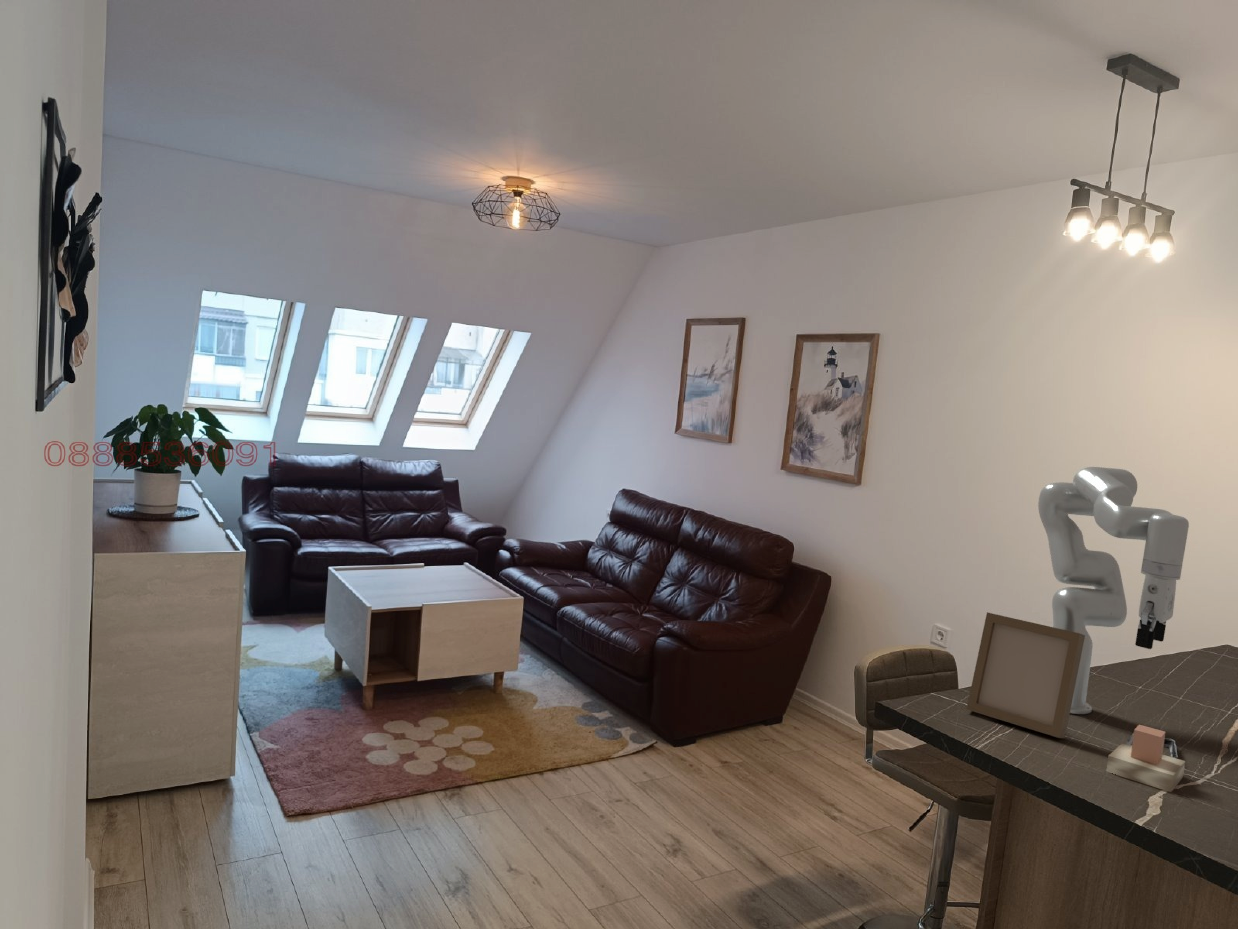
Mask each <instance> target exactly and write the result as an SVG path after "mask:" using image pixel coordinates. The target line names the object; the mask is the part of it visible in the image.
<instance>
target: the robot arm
mask: <svg viewBox="0 0 1238 929" xmlns="http://www.w3.org/2000/svg"><path fill="white" fill-rule="evenodd" d="M1137 491H1138V481H1137V478H1136V476H1134V474H1133V473H1132V472H1130V471H1129V470H1126V469H1123V468H1111V467H1102V466H1101V467H1100V466H1089V467H1088V466H1087V467H1084V468H1082V469H1080V470H1078V471H1077V472H1076V473H1075V474H1074V476H1073V481H1072V482H1063V481H1062V482H1052V483H1049V484H1047V485H1045V486H1044V487H1043V488H1042V489H1041V491H1040V493H1039V497H1038V504H1037V507H1038V514H1039V517H1040V521H1041V523H1042V526H1043V528H1044V530H1045V533H1046V536H1047V540H1048V548H1049V553H1050V554H1049V555H1050V558H1051V559H1050V561H1051V566H1052V571H1053V575H1054V577H1055V579H1056V580H1057V582H1059V583H1062V584H1066V585H1073V587H1072V586H1069V587H1063V588H1060V589H1059V590H1056V591H1055V593H1054V594H1053V596H1052V603H1051V608H1052V627H1054V628H1058V629H1063V630H1067V631H1072V632H1076V633H1080V634H1083V635H1085V639H1084V644H1083V649H1082V654H1081V659H1080V664H1079V669H1078V674H1077V679H1076V684H1075V689H1074V694H1073V699H1072V704H1071V710H1070V714H1074V715H1088V714H1090V713H1091V712H1092V710H1093V707H1092V706H1091V705H1090V703H1088V702H1087V694H1088V687H1089V678H1090V672H1091V671H1090V670H1091V664H1092V663H1091V662H1092V655H1093V639H1092V638H1091V636H1090V634H1089V632H1088V631H1087V628H1086V626H1087V627H1088V626H1093V627H1094V626H1095V627H1103V628H1116V627H1120V626H1122V624H1124V623H1125V621H1126V618H1127V614H1128V612H1127V611H1128V608H1127V602H1126V601H1127V600H1126V599H1127V598H1126V595H1125V591H1124V590H1125V589H1124V584H1123V578H1122V575H1121V569H1120V565H1119V563H1118V561H1117V559H1116V558H1115V557H1114V556H1113V555H1112V554H1111V553H1108V552H1105V551H1100V550H1092V549H1091V550H1089V549H1087V548H1086V546H1085V541H1084V535H1083V533H1082V530H1081V529H1080V527H1079V526H1078V525H1077V523H1076V522H1075V521H1074V520H1073V519H1072V518H1071V517H1070V516H1069V515H1075V516H1086V517H1087V516H1088V517H1094V520H1095V523H1096V525H1097V526H1098V527H1099V528H1101V529H1102V530H1103V531H1104V532H1105V533H1106V534H1108V535H1109V536H1112V537H1114V538H1118V539H1124V540H1125V539H1127V540H1137V541H1138V540H1140V541H1145V544H1144V549H1143V550H1144V551H1143V556H1142V557H1143V558H1142V562H1141V563H1142V564H1141V569H1140V573H1141V574H1142V575H1145V577H1144V581H1143V585H1142V591H1141V596H1140V600H1139V606H1138V607H1139V608H1138V617H1139V618H1140V619H1139V622H1138V627H1137V632H1136V637H1135V644H1134V645H1135V647H1139V648H1144V649H1148V650H1151V649H1153V646H1154V645H1153V644H1154V641H1158V642H1164V639H1165V633H1166V628H1167V627H1166V625H1167V624H1166V623H1167V621H1169V620H1170V619H1172V618H1173V616H1174V615H1173V614H1174V608H1175V599H1176V587H1177V581H1178V580H1179V581H1180V580H1181V577H1182V569H1183V564H1184V558H1185V552H1186V551H1185V550H1186V545H1187V539H1188V534H1189V527H1190V523H1189V520H1188V519H1187V518H1186V517H1184V516H1182V515H1176V514H1173V513H1171V512H1170V511H1168V510H1165V509H1160V508H1154V507H1150V508H1149V507H1141V506H1132V505H1133V501H1134V497H1135V496H1136V494H1137ZM1075 586H1083V587H1075ZM1084 586H1085V587H1084ZM1088 587H1094V588H1088Z"/></svg>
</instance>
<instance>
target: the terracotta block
mask: <svg viewBox="0 0 1238 929" xmlns="http://www.w3.org/2000/svg"><path fill="white" fill-rule="evenodd" d="M1133 733H1134V737H1133V743H1132V751H1131V757H1132V758H1136V759H1139V760H1143V761H1146V762H1149V763H1153V764H1156V765H1158V764H1159V762H1160V761H1161V759H1162V754H1163V753H1164V752H1163V751H1164V747H1165V746H1164V740H1165V738H1166V731H1165V730H1162V729H1161V730H1160V729H1157V728H1153V727H1150V726H1146V725H1142V724H1138V725H1137V726H1136V728H1134V730H1133ZM1163 755H1164V754H1163Z"/></svg>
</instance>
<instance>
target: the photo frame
mask: <svg viewBox="0 0 1238 929" xmlns="http://www.w3.org/2000/svg"><path fill="white" fill-rule="evenodd" d="M1084 639H1085V635H1083V634H1080V633H1076V632H1072V631H1067V630H1063V629H1058V628H1054V627H1053V626H1049V625H1045V624H1040V623H1037V622H1031V621H1027V620H1022V619H1017V618H1014V617H1008V616H1005V615H1000V614H996V613H991V612H986V615H985V620H984V624H983V629H982V634H981V638H980V645H979V647H978V648H979V649H978V651H977V652H978V653H977V657H976V663H975V668H974V672H973V677H972V682H971V686H970V691H969V696H968V700H967V706H966V710H968V711H970V712H974V713H977V714H980V715H984V716H987V717H990V718H992V719H993V718H994V719H996V720H1000V721H1002V722H1006V723H1008V724H1009V723H1010V724H1013V725H1016V726H1019V727H1022V728H1025V729H1029V730H1032V731H1035V732H1039V733H1042V734H1045V735H1049V736H1051V737H1054V738H1057V739H1066V734H1067V729H1068V724H1069V723H1068V722H1069V719H1070V715H1071V713H1070V710H1071V704H1072V699H1073V694H1074V689H1075V684H1076V679H1077V674H1078V669H1079V664H1080V659H1081V654H1082V649H1083V644H1084Z"/></svg>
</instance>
